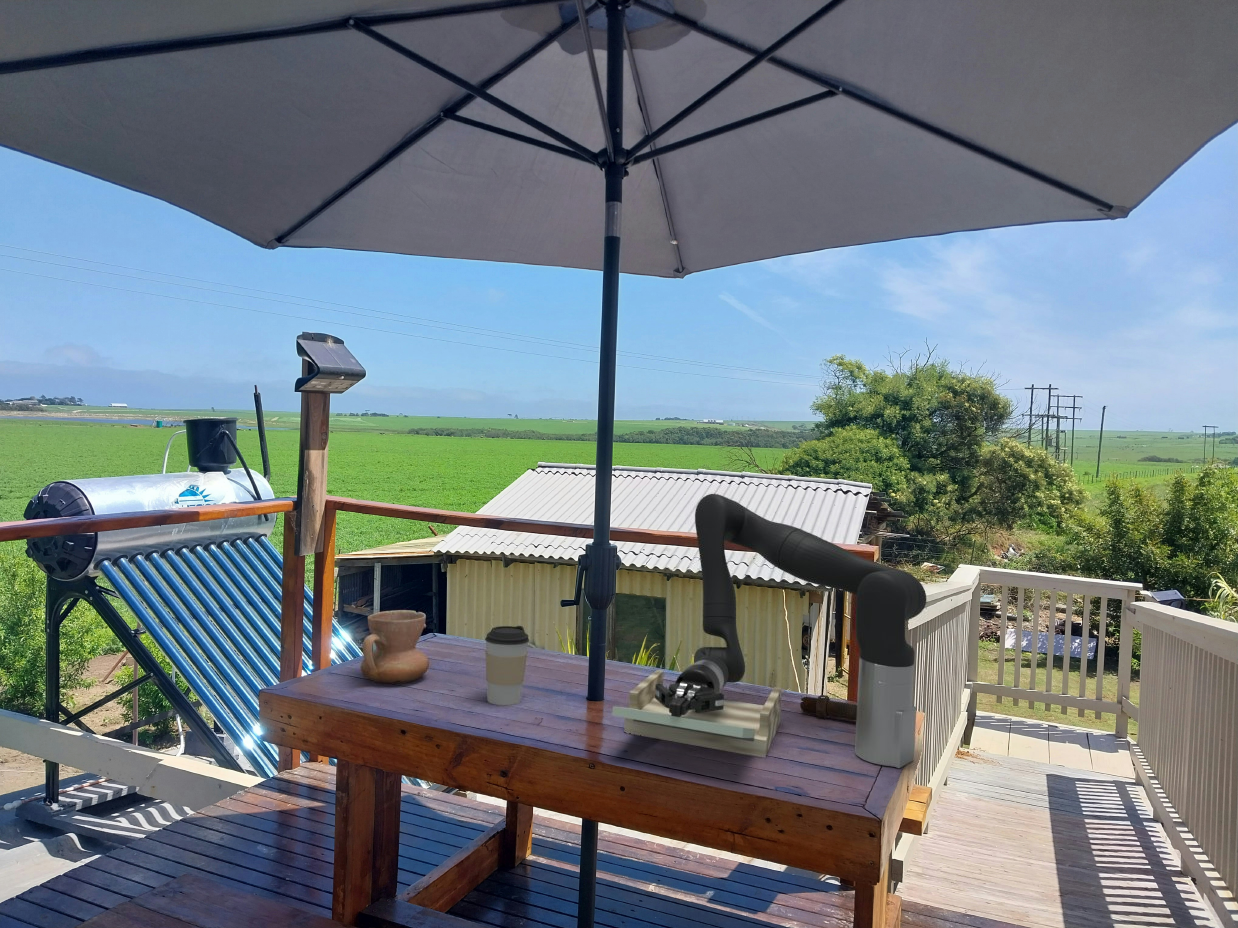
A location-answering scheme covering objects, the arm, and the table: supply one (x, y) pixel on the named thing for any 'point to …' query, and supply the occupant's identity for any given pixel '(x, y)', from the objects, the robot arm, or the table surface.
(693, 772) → the table surface
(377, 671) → the ceramic jug
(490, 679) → the coffee cup
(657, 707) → the cart bed
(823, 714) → the bolt
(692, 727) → the panel
